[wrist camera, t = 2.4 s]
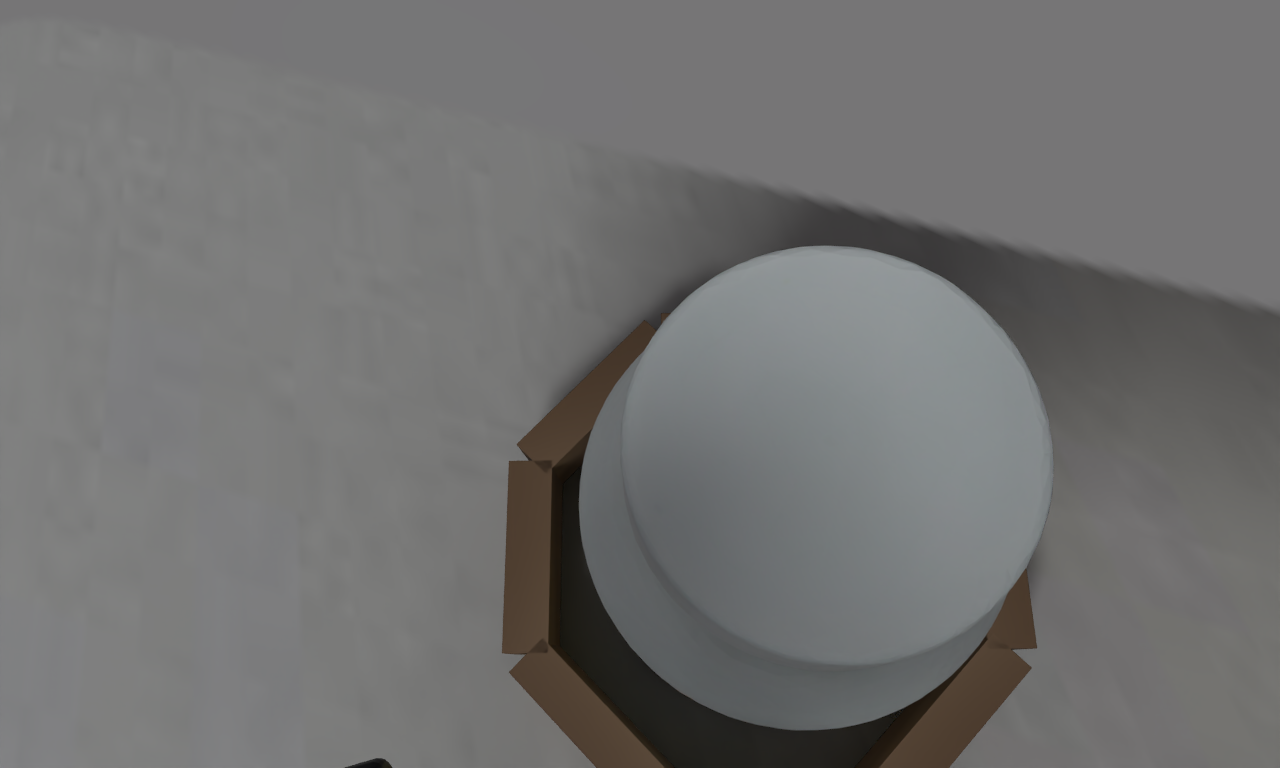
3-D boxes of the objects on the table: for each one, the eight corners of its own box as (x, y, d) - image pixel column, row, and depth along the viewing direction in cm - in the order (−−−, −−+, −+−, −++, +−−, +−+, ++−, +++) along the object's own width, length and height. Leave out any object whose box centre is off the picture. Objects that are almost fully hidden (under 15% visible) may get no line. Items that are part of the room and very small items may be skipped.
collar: (1096, 555, 17) (1134, 544, 16) (772, 940, 15) (781, 968, 14) (740, 255, 19) (745, 222, 18) (424, 564, 18) (401, 555, 16)
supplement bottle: (656, 742, 16) (617, 836, 7) (586, 465, 18) (483, 259, 9) (937, 662, 17) (1241, 656, 8) (843, 395, 18) (999, 123, 9)
